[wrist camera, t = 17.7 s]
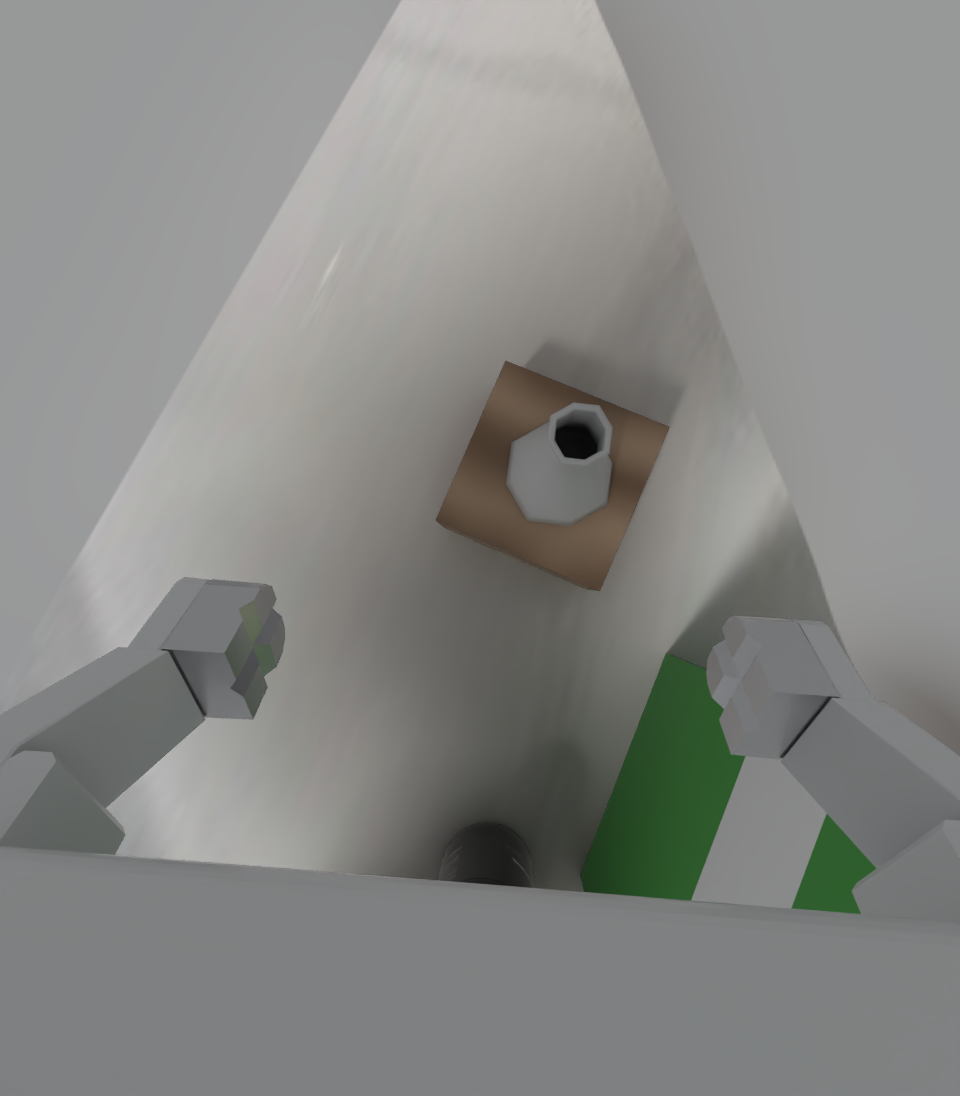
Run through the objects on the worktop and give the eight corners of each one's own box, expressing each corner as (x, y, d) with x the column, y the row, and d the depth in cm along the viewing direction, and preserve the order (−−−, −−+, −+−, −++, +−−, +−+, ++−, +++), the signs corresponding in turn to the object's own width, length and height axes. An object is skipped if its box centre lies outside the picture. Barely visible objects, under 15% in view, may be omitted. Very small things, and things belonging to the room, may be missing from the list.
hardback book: (675, 917, 38) (965, 1495, 14) (580, 875, 39) (705, 1366, 15) (760, 691, 39) (1179, 878, 15) (666, 653, 39) (922, 773, 15)
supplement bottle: (547, 843, 39) (567, 962, 27) (509, 928, 39) (512, 1087, 27) (463, 802, 39) (446, 902, 27) (426, 887, 39) (391, 1025, 27)
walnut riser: (587, 589, 40) (599, 591, 35) (444, 527, 40) (435, 520, 35) (648, 445, 40) (669, 427, 35) (505, 387, 41) (505, 360, 36)
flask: (495, 433, 36) (492, 377, 26) (600, 412, 35) (638, 347, 25) (516, 536, 35) (520, 521, 25) (622, 516, 35) (670, 492, 25)
